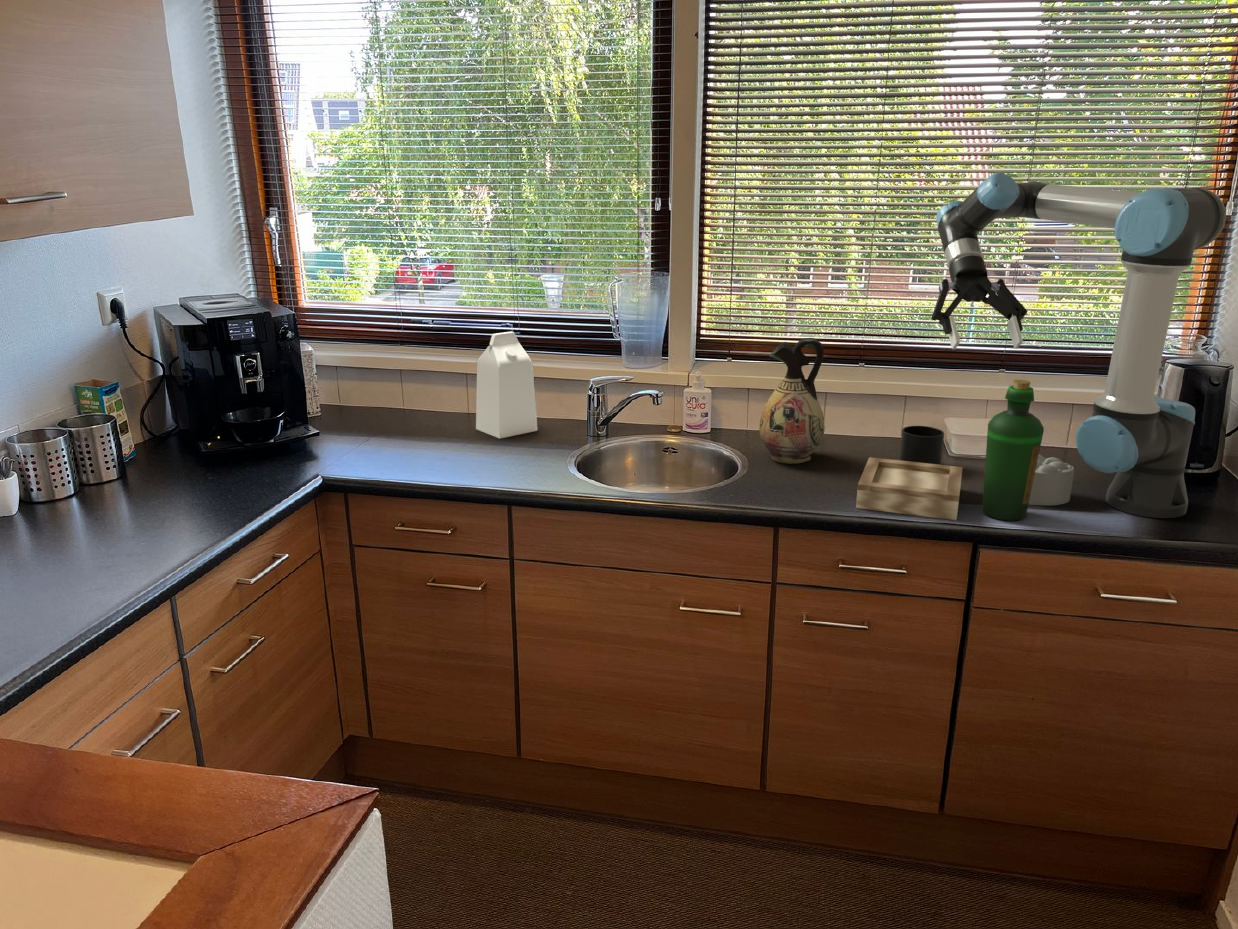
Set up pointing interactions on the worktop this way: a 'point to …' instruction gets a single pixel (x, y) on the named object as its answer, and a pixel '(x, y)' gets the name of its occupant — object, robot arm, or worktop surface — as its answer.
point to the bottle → (1012, 455)
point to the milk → (505, 389)
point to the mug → (921, 444)
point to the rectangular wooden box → (910, 488)
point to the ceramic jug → (794, 407)
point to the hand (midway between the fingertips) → (987, 345)
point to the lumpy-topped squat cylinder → (1051, 482)
